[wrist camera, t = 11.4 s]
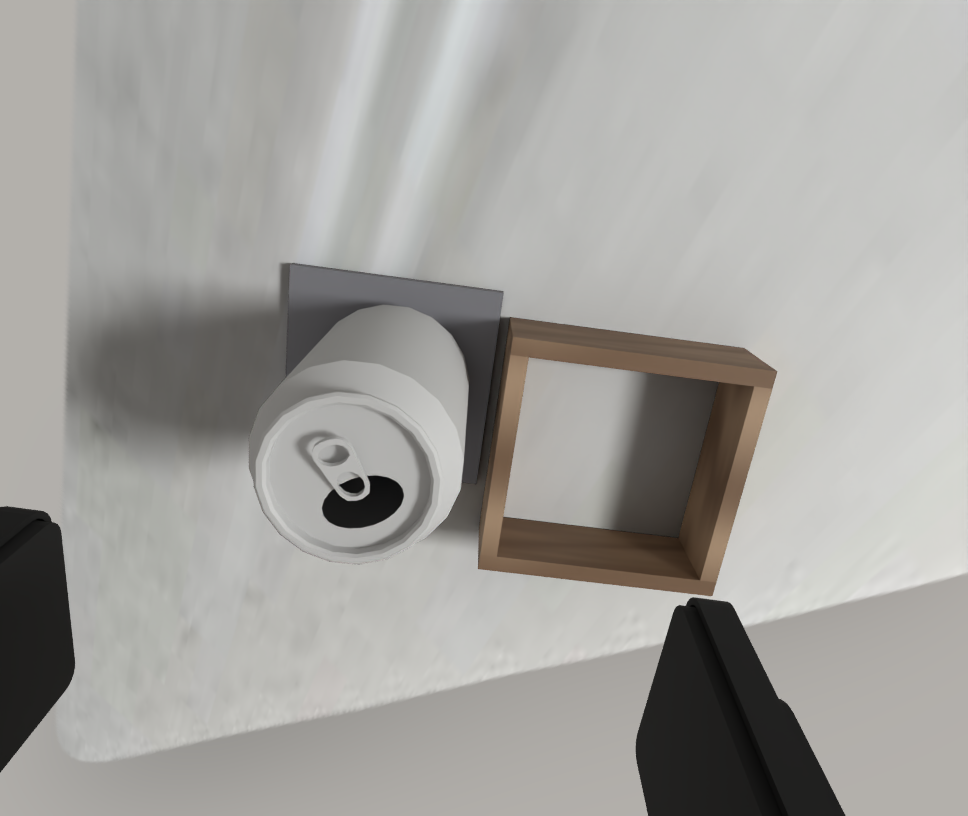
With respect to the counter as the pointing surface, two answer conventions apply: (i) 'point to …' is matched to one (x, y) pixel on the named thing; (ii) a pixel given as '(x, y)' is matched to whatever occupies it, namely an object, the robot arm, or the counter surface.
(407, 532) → the can
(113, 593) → the counter surface
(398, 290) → the rubber mat
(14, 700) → the robot arm
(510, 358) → the walnut box
